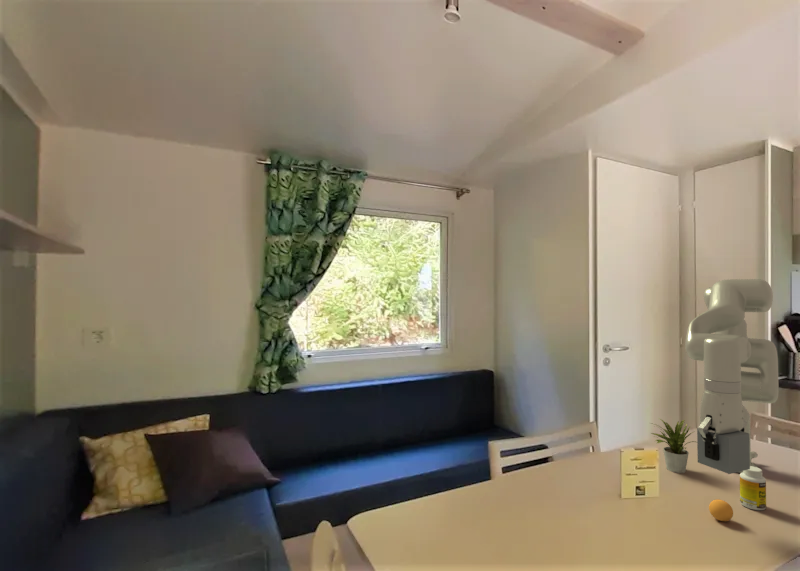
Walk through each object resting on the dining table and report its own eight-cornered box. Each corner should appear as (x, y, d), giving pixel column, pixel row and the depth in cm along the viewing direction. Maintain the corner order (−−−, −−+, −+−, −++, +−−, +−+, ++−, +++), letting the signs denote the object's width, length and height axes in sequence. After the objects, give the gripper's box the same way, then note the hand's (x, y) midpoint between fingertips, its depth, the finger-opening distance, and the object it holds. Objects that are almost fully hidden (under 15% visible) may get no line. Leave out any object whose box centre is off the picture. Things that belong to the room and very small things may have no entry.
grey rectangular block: (717, 457, 116) (717, 424, 116) (749, 469, 109) (749, 433, 109) (697, 462, 113) (697, 428, 113) (729, 474, 106) (728, 437, 106)
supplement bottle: (761, 513, 115) (761, 474, 115) (736, 504, 120) (735, 467, 120) (769, 507, 118) (769, 469, 118) (744, 499, 123) (744, 462, 123)
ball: (741, 520, 110) (722, 519, 114) (733, 498, 111) (715, 497, 116) (726, 523, 108) (708, 521, 112) (719, 500, 110) (701, 499, 114)
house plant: (657, 456, 154) (656, 409, 154) (704, 467, 144) (704, 417, 145) (645, 468, 144) (644, 418, 144) (694, 481, 134) (694, 427, 134)
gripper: (729, 380, 118) (730, 446, 118) (683, 386, 111) (684, 456, 111) (760, 386, 111) (762, 456, 110) (714, 393, 104) (715, 467, 104)
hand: (723, 455), depth 111 cm, fingers closed on grey rectangular block, 7 cm apart
